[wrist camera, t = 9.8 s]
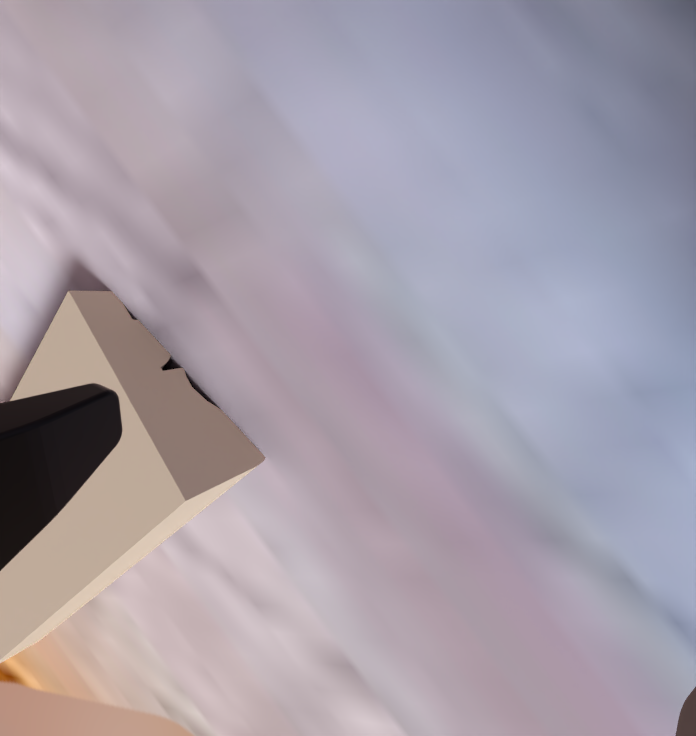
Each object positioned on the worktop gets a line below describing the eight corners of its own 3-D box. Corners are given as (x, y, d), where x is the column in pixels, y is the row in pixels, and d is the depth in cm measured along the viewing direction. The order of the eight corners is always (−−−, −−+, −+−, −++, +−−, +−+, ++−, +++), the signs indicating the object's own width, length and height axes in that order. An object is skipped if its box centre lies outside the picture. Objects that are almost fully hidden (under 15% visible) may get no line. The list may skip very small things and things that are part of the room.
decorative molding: (-4, 522, 52) (52, 633, 50) (-69, 549, 48) (-12, 669, 47) (165, 275, 30) (273, 458, 28) (68, 290, 26) (185, 501, 25)
